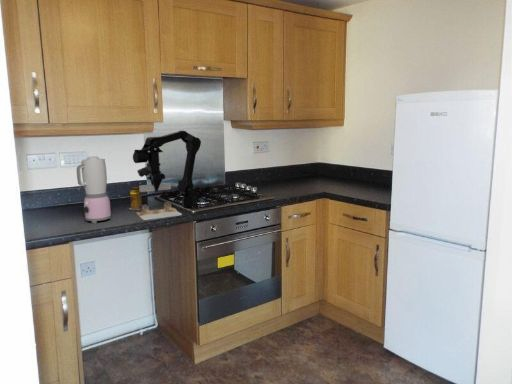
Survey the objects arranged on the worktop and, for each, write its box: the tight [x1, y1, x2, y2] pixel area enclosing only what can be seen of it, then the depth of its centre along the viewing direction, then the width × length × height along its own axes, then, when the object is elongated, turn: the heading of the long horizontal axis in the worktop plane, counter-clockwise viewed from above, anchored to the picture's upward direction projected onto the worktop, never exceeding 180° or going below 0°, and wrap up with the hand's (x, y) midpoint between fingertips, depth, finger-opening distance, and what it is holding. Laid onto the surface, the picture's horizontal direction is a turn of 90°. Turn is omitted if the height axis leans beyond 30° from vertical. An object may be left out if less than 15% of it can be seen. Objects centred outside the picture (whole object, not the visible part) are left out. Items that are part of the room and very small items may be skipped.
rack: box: [136, 201, 178, 217], centre depth 228 cm, size 20×6×5 cm, turn 118°
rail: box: [138, 182, 172, 193], centre depth 226 cm, size 16×3×3 cm, turn 118°
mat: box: [140, 210, 183, 221], centre depth 222 cm, size 20×8×1 cm, turn 118°
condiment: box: [128, 186, 143, 211], centre depth 240 cm, size 7×8×12 cm
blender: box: [76, 155, 112, 224], centre depth 211 cm, size 16×12×32 cm
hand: (155, 190), depth 226 cm, fingers closed on rail, 3 cm apart
